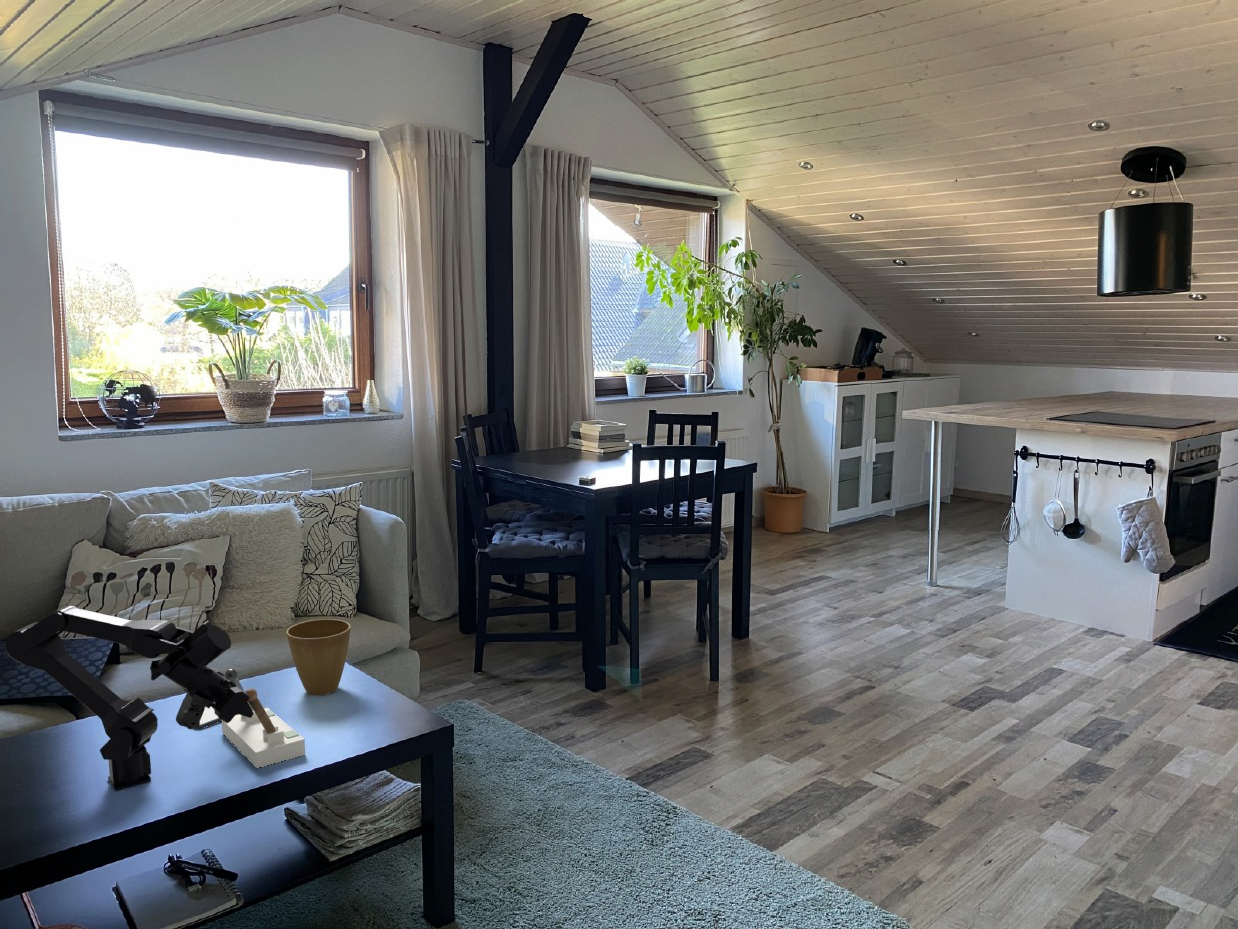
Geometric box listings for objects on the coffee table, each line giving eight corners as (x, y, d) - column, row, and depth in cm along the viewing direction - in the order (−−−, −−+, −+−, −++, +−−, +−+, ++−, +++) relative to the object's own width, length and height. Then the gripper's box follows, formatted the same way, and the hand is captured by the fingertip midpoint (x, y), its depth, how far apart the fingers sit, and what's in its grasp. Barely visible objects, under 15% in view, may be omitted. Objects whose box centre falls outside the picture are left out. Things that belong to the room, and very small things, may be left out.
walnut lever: (269, 740, 195) (243, 695, 191) (265, 736, 197) (239, 692, 193) (280, 732, 196) (255, 688, 192) (276, 728, 198) (251, 684, 194)
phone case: (198, 733, 210) (261, 708, 223) (198, 726, 210) (260, 702, 223) (176, 724, 215) (238, 700, 228) (175, 717, 215) (238, 694, 228)
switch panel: (256, 769, 191) (255, 743, 190) (222, 734, 208) (220, 710, 207) (305, 755, 197) (304, 730, 197) (268, 722, 214) (266, 699, 213)
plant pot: (281, 689, 235) (277, 626, 232) (339, 675, 244) (336, 615, 242) (302, 707, 223) (299, 641, 221) (362, 692, 232) (360, 629, 230)
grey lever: (246, 719, 206) (224, 674, 202) (242, 715, 208) (220, 671, 204) (257, 712, 207) (236, 668, 203) (253, 708, 209) (232, 665, 205)
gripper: (149, 695, 189) (210, 735, 197) (174, 724, 174) (239, 765, 182) (189, 649, 192) (247, 690, 201) (217, 674, 178) (278, 716, 186)
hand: (251, 715), depth 192 cm, fingers closed
